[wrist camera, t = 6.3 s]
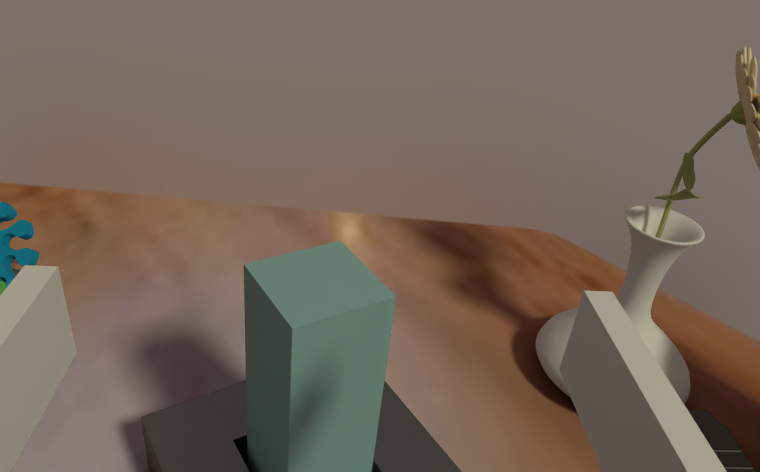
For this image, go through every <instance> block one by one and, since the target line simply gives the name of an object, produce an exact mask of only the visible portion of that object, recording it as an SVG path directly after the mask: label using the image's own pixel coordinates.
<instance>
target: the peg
mask: <svg viewBox="0 0 760 472" xmlns="http://www.w3.org/2000/svg"><path fill="white" fill-rule="evenodd" d="M244 298H245V352H246V405H247V459H248V470H249V472H372V465H373V458H374V451H375V444H376V437H377V430H378V422H379V415H380V408H381V401H382V394H383V387H384V379H385V372H386V365H387V358H388V351H389V344H390V336H391V329H392V322H393V315H394V308H395V301H396V296H395V295H394V294H393V293H392V292H391V291H390V290H389V289H388V288H387V287H386V286H385V285H384V284H383V283H382V282H381V281H380V280H379V279H378V278H377V277H376V276H375V275H374V274H373V273H372V272H371V271H370V270H369V269H368V268H367V267H366V266H365V265H364V264H363V263H362V262H361V261H360V260H359V259H358V258H357V257H356V256H355V255H354V254H353V253H352V252H351V251H350V250H349V249H348V248H347V247H346V246H345V245H343V244H342V243H341V242H340V241H337V242H333V243H329V244H325V245H321V246H317V247H313V248H309V249H304V250H300V251H296V252H292V253H288V254H284V255H280V256H276V257H272V258H268V259H263V260H259V261H255V262H251V263H247V264H244Z"/></svg>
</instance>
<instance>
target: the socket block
mask: <svg viewBox="0 0 760 472" xmlns="http://www.w3.org/2000/svg"><path fill="white" fill-rule="evenodd" d="M141 419H142V426H143V433H144V439H145V446H146V453H147V460H148V465H149V468H150V470H151V472H249V470H248V459H247V405H246V381H244V382H241V383H239V384H236V385H233V386H230V387H227V388H224V389H221V390H218V391H215V392H213V393H210V394H207V395H204V396H201V397H198V398H195V399H192V400H190V401H187V402H184V403H181V404H178V405H175V406H172V407H169V408H166V409H164V410H161V411H158V412H155V413H152V414H149V415H146V416H143V417H141ZM372 472H461V470H460V469H459V468H458V467H457V466H456V465H455V463H454V462H453V461H452V460H451V459H450V457H449V456H448V455H447V454H446V453H445V452H444V450H443V449H442V448H441V447H440V446H439V444H438V443H437V442H436V441H435V440H434V439H433V437H432V436H431V435H430V434H429V433H428V432H427V430H426V429H425V428H424V427H423V426H422V424H421V423H420V422H419V421H418V420H417V419H416V417H415V416H414V415H413V414H412V413H411V411H410V410H409V409H408V408H407V407H406V406H405V404H404V403H403V402H402V401H401V400H400V398H399V397H398V396H397V395H396V394H395V393H394V391H393V390H392V389H391V388H390V387H389V385H388V384H387V383H386V382H385V381H384V387H383V394H382V401H381V408H380V415H379V422H378V430H377V437H376V444H375V451H374V458H373V465H372Z"/></svg>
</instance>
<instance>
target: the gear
mask: <svg viewBox="0 0 760 472" xmlns="http://www.w3.org/2000/svg"><path fill="white" fill-rule="evenodd" d="M16 216H17V211H16V210H15V209H14V208H13V207H12V206H11V205H9V204H7V203H5V202H0V223H1V222H3V221H10V220H13V219H14V218H15V217H16ZM33 234H34V232H33V226H32V223H30V222H28V221H25V220H19V221H17V222H16V223H15V224H14V225H12V226H11V227H9V228H8V229H5V230H1V231H0V295H1V294H2V293H3V292H4V290H5V289H6V288H7V287H8V285H9V284H10V283H11V282H12V280H13V279H14V278H15V277H16V276H17V274H18V273H19V272H20V270H17V269H13V268H12V267H11V262H12V261H13V260H14V259H15V258H16V260H17V262H18V263H19V264H20V265H23V266H25V265H32V266H35V265H36V263H37V260H38V257H39V253H38V252H37V251H35V250H32V249H29V248H24V249H21V250H13V249H12V248H11V247H10V245H9V243H10V240H11V239H12V238H13V237H15V236H17V237H20V238H22V239H26V240H27V239H30V238H32V237H33Z"/></svg>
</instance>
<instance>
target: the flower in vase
mask: <svg viewBox="0 0 760 472" xmlns="http://www.w3.org/2000/svg"><path fill="white" fill-rule="evenodd" d="M736 80H737V88H738V94H739V99H740V101H739V102H738V103H737V104H736V105H735V106H734V107H733V108H732V110H731V113H729V114H728V115H727V116H725V117H724V118H723V119H722V120H721V121H720V122H719V123H717V124H716V125H715V126H714V127H713V128H712V129H711V130H710V131H709V132H708V133H707V134H706V135H705V136H704V137H703V138H702V139H701V140H700V141H699V142H698V143H697V144H696V145H695V146H694V147H693V149H692V150H691V151H690V152H689V153H685V155H684V158H683V163H682V165H681V168H680V170H679V172H678V174H677V177H676V179H675V182H674V184H673V187H672V190H671V192H670V195H662V196H657V197H655V198H657V199H662V200H668V201H667V204H666V207H665V208H661V207H655V206H635V207H631V208H629V209H628V210H627V211H626V212H625V219H626V222H627V224H628V226H629V229H630V233H631V241H632V242H631V243H632V245H631V255H630V260H629V265H628V270H627V273H626V276H625V279H624V282H623V284H622V287H621V289H620V291H619V293H618V295H617V296H616V298H617V300H618V301H619V303H620V304H621V306H622V308H623V309H624V311H625V312H626V314H627V316H628V317H629V319H630V320H631V322H632V323H633V325H634V327H635V328H636V330H637V331H638V333H639V334H640V336H641V338H642V339H643V341H644V342H645V344H646V345H647V347H648V349H649V350H650V352H651V353H652V355H653V356H654V358H655V360H656V361H657V363H658V364H659V366H660V367H661V369H662V371H663V372H664V374H665V375H666V377H667V378H668V380H669V382H670V383H671V385H672V386H673V388H674V389H675V391H676V393H677V394H678V396H679V397H680V399H681V400H682V402H683V404H684V405H685V403H686V401H687V400H688V398H689V394H690V375H689V370H688V367H687V364H686V363H685V361H684V359H683V357H682V356H681V354H680V352H679V351H678V349H677V348H676V346H675V345H674V343H673V342H672V341H671V340H670V339H669V338H668V337H667V336H666V335H665V334H664V332H663V331H662V330H661V329H660V328H659V327H658V326H657V325H656V324H655V323H654V322H653V320H652V319H651V313H650V311H651V305H652V302H653V299H654V296H655V293H656V291H657V289H658V287H659V285H660V282H661V281H662V279H663V277H664V275H665V274H666V272H667V270H668V269H669V267H670V266H671V265H672V263H673V262H674V260H675V259H676V258H677V257H678V256H679V255H680V254H681V253H682V252H684V251H685V250H686V249H688V248H690V247H691V246H694V245H696V244H698V243H700V242H701V241H702V240H703V239H704V237H705V234H704V231H703V229H702V228H701V227H700V226H699V225H698V224H697V223H695V222H694V221H693V220H691V219H690V218H688V217H686V216H684V215H682V214H680V213H678V212H675V211H672V210H671V207H672V203H673V200H682V199H690V198H700V197H699V196H694V194H692V193H691V192H690V190H691V189H692V188H693V186H694V183H695V174H694V159H693V156H694V155H695V153H696V152H697V151H698V150H699V149H700V148H701V147H702V146H703V145H704V144H705V143H706V142H707V141H708V140H709V139H710V138H711V137H712V136H713V135H714V134H715V133H716V132H717V131H718V130H719V129H721V127H723V126H724V125H725V124H726V123H727V122H729V121H730V120H731V119H733V120H734V121H735V122H736V123H739V124H743V125H745V128H746V133H747V137H748V141H749V144H750V147H751V151H752V154H753V157H754V159H755V162H756V164H757V166H758V168H759V169H760V93H757V94H756V82H757V61H756V58H755V57H753V58H752V55H751V49H750V48H748V50H747V53H746V47H745V46H744V47H743V49H742V53H741V51H740V49H738V51H737V54H736ZM682 176H683V180H684V184H685V186H686V189H685V190H683V191H681V192H679V193H677V194H676V192H677V188H678V186H679V183H680V181H681V178H682ZM578 308H579V307H577V308H573V309H570V310H567V311H564V312H561V313H559V314H556V315H555V316H553V317H552V318H550V319H549V320H548V321H547V322H546V323H545V324H544V325H543V327H542V328H541V329H540V331H539V332H538V334H537V337H536V352H537V356H538V358H539V361H540V363H541V365H542V367H543V369H544V371H545V372H546V374H547V376H548V377H549V378H550V379H551V381H552V382H553V383H554V384H555V385H556V386H557V387H558V388H559V389H560V390H562V391H563V392H564V393H565V394H566V395H568V396H569V397H570V394H569V392H568V390H567V387H566V385H565V383H564V380H563V378H562V376H561V374H560V371H559V368H560V365H561V362H562V359H563V356H564V352H565V349H566V346H567V343H568V340H569V337H570V334H571V330H572V327H573V324H574V321H575V318H576V315H577V312H578ZM570 398H571V397H570Z"/></svg>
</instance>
